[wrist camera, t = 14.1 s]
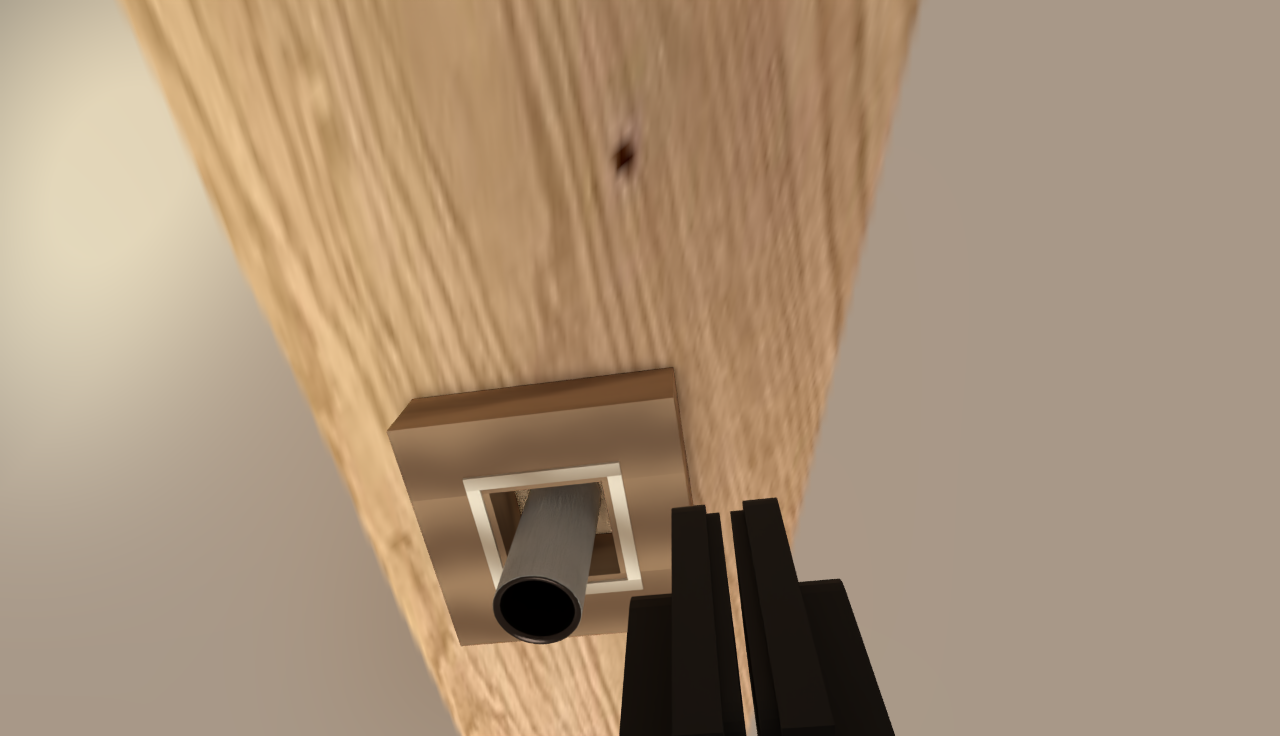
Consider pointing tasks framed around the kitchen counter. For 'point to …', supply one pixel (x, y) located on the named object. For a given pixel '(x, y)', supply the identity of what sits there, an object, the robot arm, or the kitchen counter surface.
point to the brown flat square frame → (546, 457)
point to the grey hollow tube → (549, 564)
